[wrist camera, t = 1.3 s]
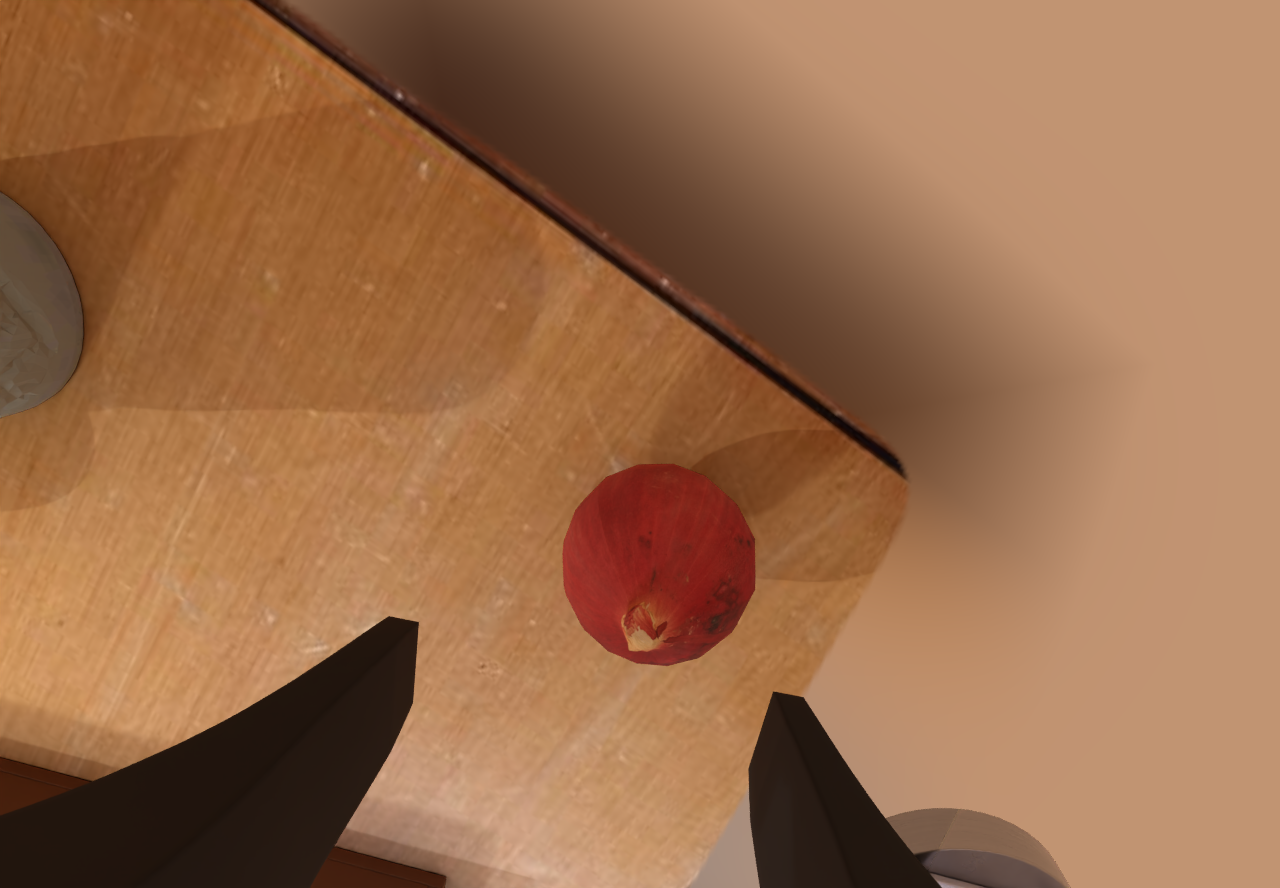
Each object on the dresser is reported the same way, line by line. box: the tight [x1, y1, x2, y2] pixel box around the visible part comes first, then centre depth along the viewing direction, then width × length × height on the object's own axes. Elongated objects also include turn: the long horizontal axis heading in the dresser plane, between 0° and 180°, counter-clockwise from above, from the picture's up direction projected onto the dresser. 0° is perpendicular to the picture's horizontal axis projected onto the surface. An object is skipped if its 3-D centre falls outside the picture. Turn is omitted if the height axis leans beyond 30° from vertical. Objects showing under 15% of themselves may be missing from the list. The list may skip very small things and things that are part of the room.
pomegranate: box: [563, 464, 755, 666], centre depth 18 cm, size 6×6×8 cm
